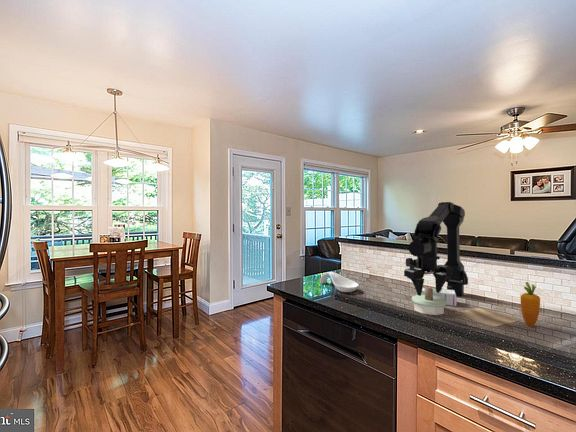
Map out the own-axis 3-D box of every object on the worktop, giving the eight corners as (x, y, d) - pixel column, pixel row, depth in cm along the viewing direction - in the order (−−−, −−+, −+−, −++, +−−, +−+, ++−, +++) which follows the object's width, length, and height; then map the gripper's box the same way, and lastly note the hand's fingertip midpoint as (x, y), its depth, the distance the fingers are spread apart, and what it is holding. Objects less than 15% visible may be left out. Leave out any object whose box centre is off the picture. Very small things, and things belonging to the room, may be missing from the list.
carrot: (541, 333, 92) (541, 285, 92) (521, 329, 95) (521, 283, 94) (538, 327, 96) (538, 282, 96) (519, 324, 99) (519, 280, 98)
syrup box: (416, 304, 121) (456, 308, 115) (416, 290, 121) (456, 294, 115) (416, 299, 126) (454, 303, 120) (416, 286, 126) (455, 289, 120)
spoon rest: (363, 291, 140) (363, 277, 140) (346, 296, 134) (345, 280, 134) (330, 281, 160) (330, 268, 160) (313, 285, 154) (313, 271, 153)
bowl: (428, 306, 118) (428, 296, 118) (449, 314, 109) (449, 304, 108) (408, 309, 114) (408, 299, 114) (429, 318, 105) (429, 307, 105)
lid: (428, 295, 119) (428, 283, 119) (454, 304, 108) (454, 291, 108) (404, 299, 115) (404, 286, 115) (429, 309, 104) (429, 295, 103)
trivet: (480, 309, 113) (480, 307, 113) (520, 323, 100) (520, 320, 100) (454, 315, 108) (454, 312, 108) (492, 329, 95) (492, 326, 95)
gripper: (430, 248, 122) (430, 286, 122) (393, 252, 115) (394, 291, 116) (453, 252, 111) (453, 293, 112) (415, 256, 105) (415, 299, 105)
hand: (428, 294), depth 111 cm, fingers open, 9 cm apart
